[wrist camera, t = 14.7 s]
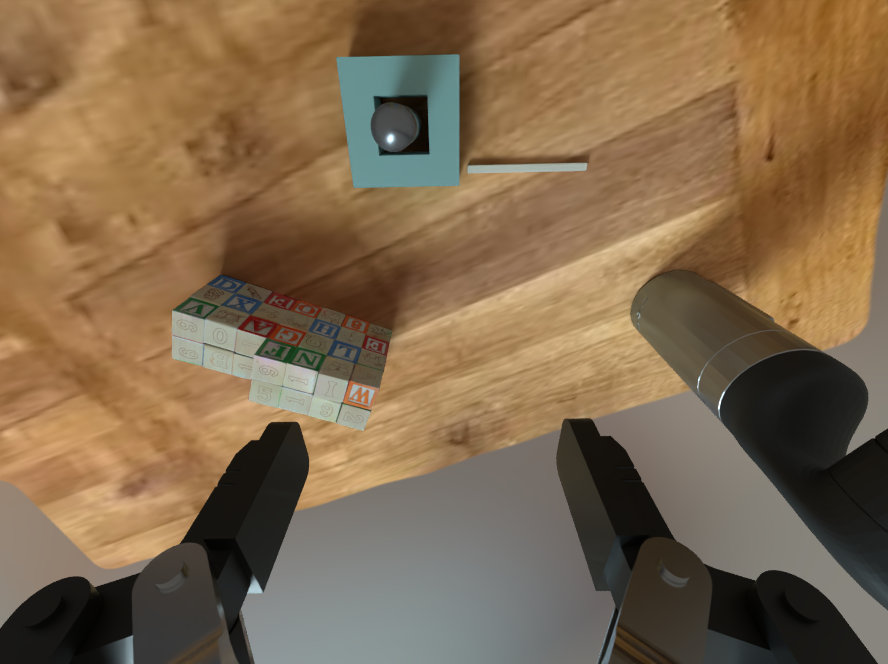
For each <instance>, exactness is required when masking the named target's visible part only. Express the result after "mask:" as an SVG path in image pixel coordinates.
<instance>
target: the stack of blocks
mask: <svg viewBox="0 0 888 664" xmlns="http://www.w3.org/2000/svg"><path fill="white" fill-rule="evenodd" d="M391 334H392V330H389V329H386V328H383V327H380V326H377V325H374V324H371V323H369V322H367V321H364V320H361V319H358V318H355V317H352V316H349V315H345V314H343V313H340V312H337V311H334V310H331V309H328V308H324V307H323V308H322V307H319V306H315V305H312V304H310V303H306V302H303V301H300V300H296V299H293V298H290V297H287V296H283V295H281V294H277V293H273V292H272V291H270V290H267V289H264V288H261V287H258V286H255V285H252V284H249V283H245V282H242V281H239V280H236V279H233V278H230V277H227V276H224V275H220V276H218V277H217V278H215V279H214V280H212V281H211V282H209V283H208V284H207V285H205V286H203V287H202V288H201V289H199V290H198V291H196V292H195V293H194V294H192V295H191V296H190V298H188V299H187V300H185V301H184V302H183V303H181V304H180V305H179V306H177V307H176V308H175V309H173V310H172V335H173V337H172V358H173V359H176V360H180V361H184V362H188V363H192V364H196V365H201V366H203V367H205V368H209V369H212V370H216V371H220V372H223V373H227V374H232V375H234V376H238V377H242V378H245V379H250V380H251V387H250V393H249V399H248V400H249V401H252V402H256V403H260V404H264V405H268V406H272V407H276V408H281V409H284V410H288V411H292V412H296V413H300V414H304V415H308V416H311V417H315V418H319V419H322V420H326V421H330V422H336V423H337V424H340V425H343V426H347V427H351V428H355V429H358V430H364V428H365V425H366V423H367V420H368V418H369V415H370V413H371V409H372V407H373V405H374V402H375V400H376V397H377V394H378V392H379V388H380V384H381V379H382V375H383V372H384V367H385V363H386V358H387V352H388V347H389V342H390V338H391Z"/></svg>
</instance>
